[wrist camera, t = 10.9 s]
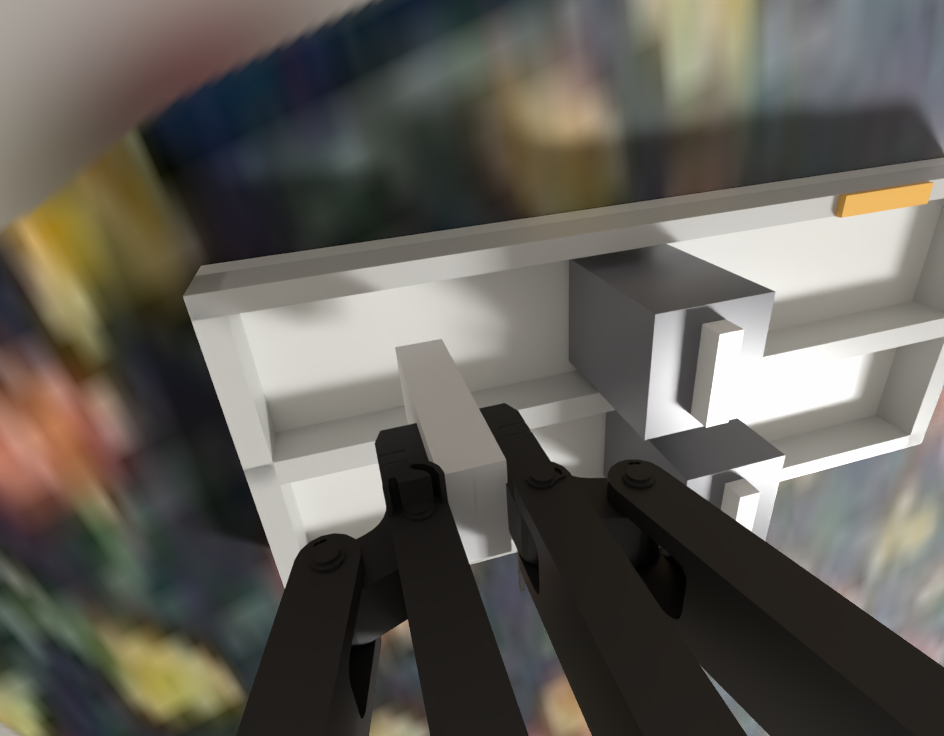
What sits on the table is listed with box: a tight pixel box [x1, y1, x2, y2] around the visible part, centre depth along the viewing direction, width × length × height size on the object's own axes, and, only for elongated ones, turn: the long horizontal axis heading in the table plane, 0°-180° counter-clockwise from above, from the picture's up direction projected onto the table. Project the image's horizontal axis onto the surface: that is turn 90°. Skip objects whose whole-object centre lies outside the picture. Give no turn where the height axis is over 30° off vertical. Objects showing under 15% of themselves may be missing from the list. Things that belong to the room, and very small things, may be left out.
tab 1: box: [569, 244, 775, 440], centre depth 19 cm, size 4×4×7 cm
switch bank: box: [183, 157, 944, 588], centre depth 24 cm, size 14×32×4 cm, turn 94°
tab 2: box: [604, 410, 786, 541], centre depth 23 cm, size 4×4×7 cm
